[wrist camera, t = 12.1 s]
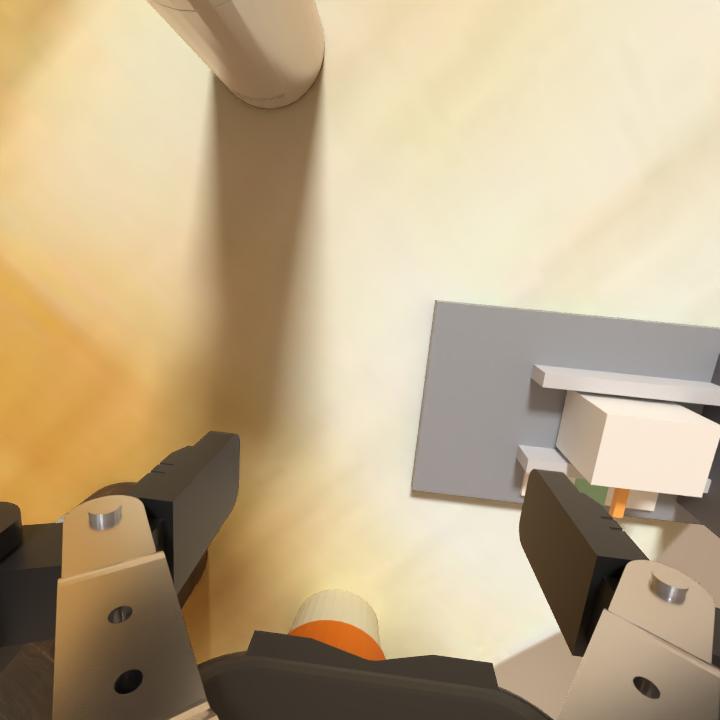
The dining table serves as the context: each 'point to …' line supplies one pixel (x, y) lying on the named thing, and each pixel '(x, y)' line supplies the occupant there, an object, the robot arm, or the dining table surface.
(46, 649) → the wooden container
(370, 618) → the reusable coffee cup
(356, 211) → the dining table surface
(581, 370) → the stand
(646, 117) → the dining table surface
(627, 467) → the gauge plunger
